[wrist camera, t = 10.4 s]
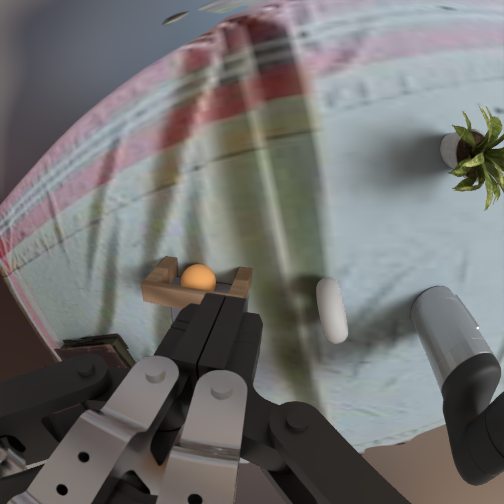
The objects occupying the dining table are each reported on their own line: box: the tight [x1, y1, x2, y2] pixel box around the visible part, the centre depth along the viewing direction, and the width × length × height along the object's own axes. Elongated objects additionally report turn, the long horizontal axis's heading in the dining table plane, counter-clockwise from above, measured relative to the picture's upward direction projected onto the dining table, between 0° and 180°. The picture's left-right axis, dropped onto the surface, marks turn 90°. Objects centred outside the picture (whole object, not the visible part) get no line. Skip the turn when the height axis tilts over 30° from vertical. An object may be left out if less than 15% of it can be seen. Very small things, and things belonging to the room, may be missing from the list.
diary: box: [54, 334, 136, 368], centre depth 62 cm, size 19×25×5 cm
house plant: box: [440, 104, 504, 211], centre depth 24 cm, size 14×14×16 cm
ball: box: [181, 264, 216, 291], centre depth 44 cm, size 6×6×6 cm
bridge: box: [141, 256, 252, 309], centre depth 42 cm, size 3×14×9 cm, turn 86°
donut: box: [316, 277, 348, 344], centre depth 40 cm, size 10×4×10 cm, turn 20°
